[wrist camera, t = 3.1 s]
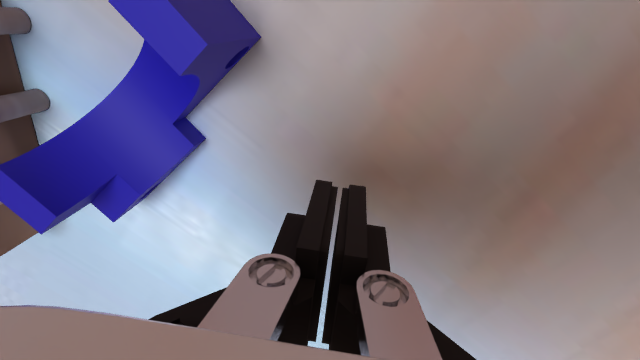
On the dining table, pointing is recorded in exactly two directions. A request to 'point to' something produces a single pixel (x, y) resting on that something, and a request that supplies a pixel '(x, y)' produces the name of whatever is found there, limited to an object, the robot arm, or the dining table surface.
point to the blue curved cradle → (133, 116)
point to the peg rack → (15, 119)
